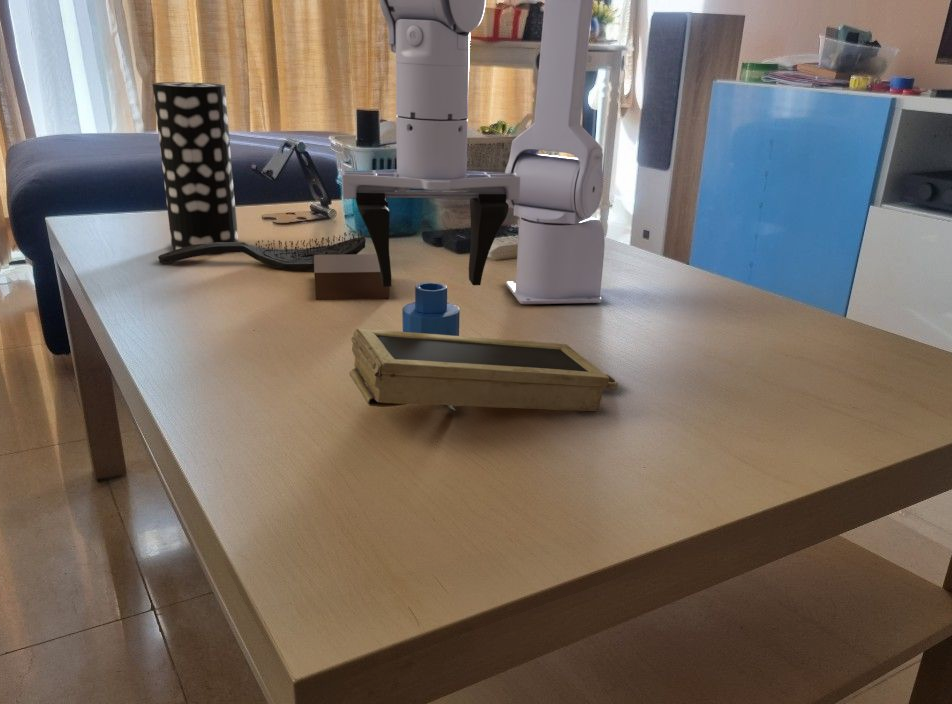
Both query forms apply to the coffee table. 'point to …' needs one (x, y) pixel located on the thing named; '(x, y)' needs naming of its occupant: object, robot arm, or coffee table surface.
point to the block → (348, 277)
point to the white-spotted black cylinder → (196, 162)
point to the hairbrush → (272, 252)
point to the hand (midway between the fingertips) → (430, 283)
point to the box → (473, 372)
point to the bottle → (431, 311)
